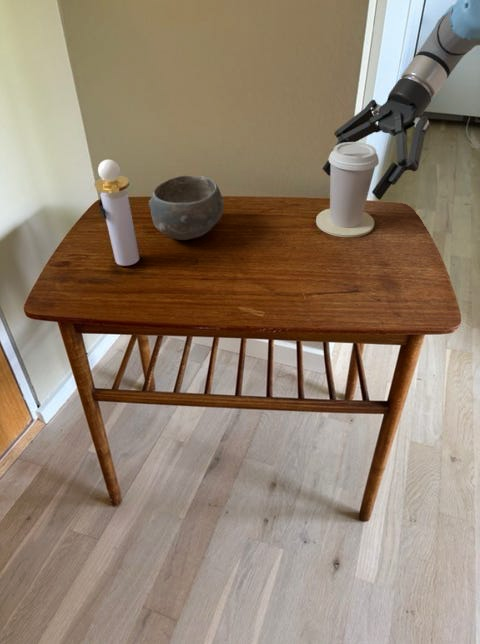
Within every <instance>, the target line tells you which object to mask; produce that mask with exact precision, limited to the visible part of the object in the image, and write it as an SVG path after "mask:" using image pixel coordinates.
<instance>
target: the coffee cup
mask: <svg viewBox="0 0 480 644" xmlns="http://www.w3.org/2000/svg"><path fill="white" fill-rule="evenodd" d="M335 145H336V144H335ZM333 148H334V149H333ZM333 148H332V150H333V151H332V150H331V151H332V152H331V151H330V153H331V154H329V155H328V158H327V161H329V162H330V164H331V174H330V176H329V179H330V180H329V182H330V183H329V208H330V222H331V223H332V224H334V225H336V226H338V227H343V228H352V227H356V226H358V225H359V224H360V223H361V219H362V216H363V212H365V207H366V204H367V201H368V196H369V192H370V189H371V186H372V185H371V184H372V180H373V177H374V173H375V171H376V170H375V169H376V167H377V166H378V165H379V163H380V161H379V159H380V158H379V155H378V153H377V149H376V148H375V146H372V145H370V144H368V143H366V142H365V143H364V142H359V141H357V142H346V143H341V144H338V145H336V146H333Z"/></svg>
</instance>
